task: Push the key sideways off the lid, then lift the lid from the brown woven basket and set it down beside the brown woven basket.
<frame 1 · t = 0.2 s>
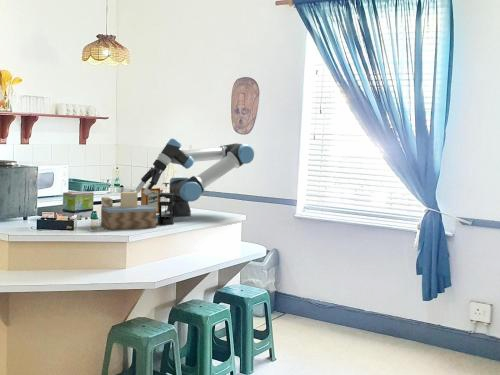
hand: (140, 192, 354), 16 cm above the table, tool tilted 35°, fingers open, 13 cm apart
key: (106, 201, 333), point 13 cm above the table, slide at 0.0 cm
baking soda box: (150, 213, 385), on the table
brown woven basket: (128, 226, 333), on the table
lid: (128, 210, 332), point 9 cm above the table, touching brown woven basket
tea box: (78, 217, 358), on the table
french press: (165, 223, 348), on the table
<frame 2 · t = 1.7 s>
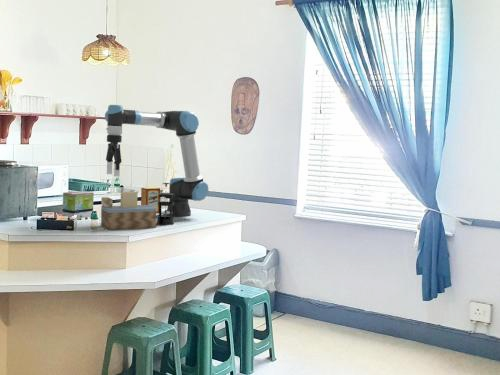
hand: (112, 175, 324), 28 cm above the table, tool pointing down, fingers open, 13 cm apart
nothing on the table moved.
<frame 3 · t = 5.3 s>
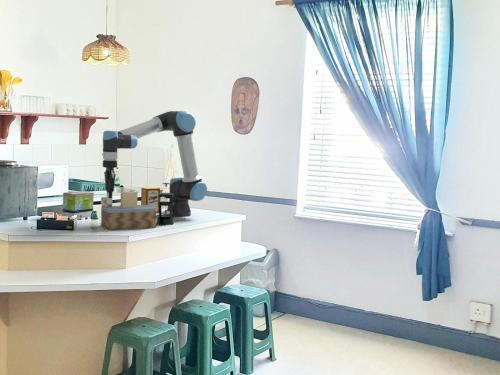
hand: (109, 204, 330), 12 cm above the table, tool pointing down, fingers closed
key: (106, 201, 334), point 13 cm above the table, slide at 0.7 cm, touching gripper
everything else where it was.
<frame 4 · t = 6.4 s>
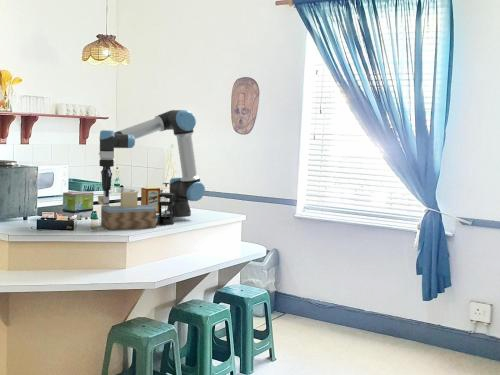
hand: (106, 202, 335), 12 cm above the table, tool pointing down, fingers closed
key: (103, 200, 339), point 13 cm above the table, slide at 7.0 cm, touching gripper
everything else where it was.
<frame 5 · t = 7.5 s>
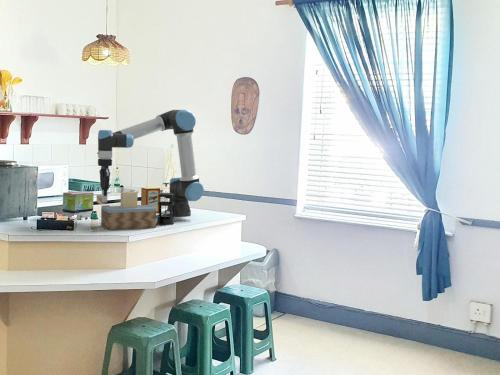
hand: (104, 201, 338), 12 cm above the table, tool pointing down, fingers closed
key: (101, 199, 342), point 13 cm above the table, slide at 10.2 cm, touching gripper
everything else where it was.
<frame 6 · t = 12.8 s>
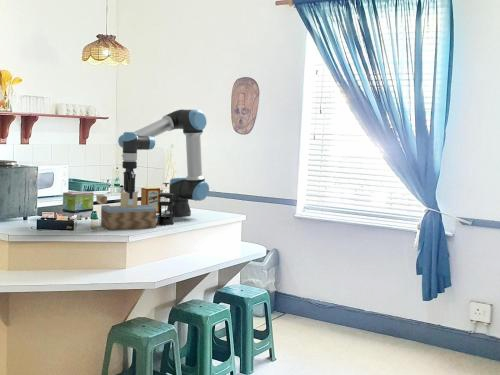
hand: (128, 204, 332), 12 cm above the table, tool pointing down, fingers closed on lid, 4 cm apart
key: (101, 199, 342), point 13 cm above the table, slide at 10.3 cm
lid: (128, 210, 332), point 9 cm above the table, touching gripper, brown woven basket
everything else where it was.
when the fingers open (6 cm above the table, at t = 20.7 s): lid drops 2 cm, point 1 cm above the table.
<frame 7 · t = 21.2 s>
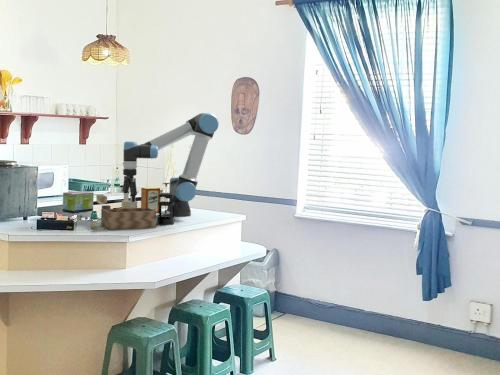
hand: (129, 205, 357), 8 cm above the table, tool pointing down, fingers open, 12 cm apart
lid: (129, 217, 358), point 1 cm above the table
everything else where it was.
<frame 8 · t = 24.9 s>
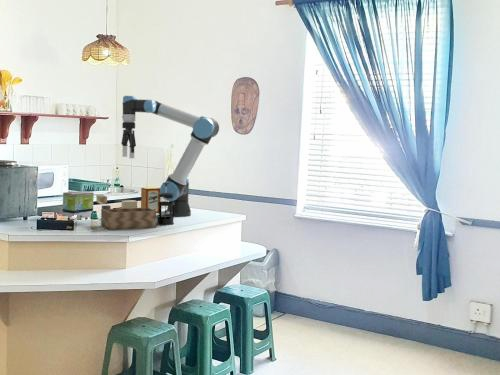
hand: (128, 157, 370), 35 cm above the table, tool pointing down, fingers open, 13 cm apart
nothing on the table moved.
at the end: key slide at 10.3 cm; lid inside the target area (0.0 cm from its centre), point 1.1 cm above the table; lid tilted 0° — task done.
